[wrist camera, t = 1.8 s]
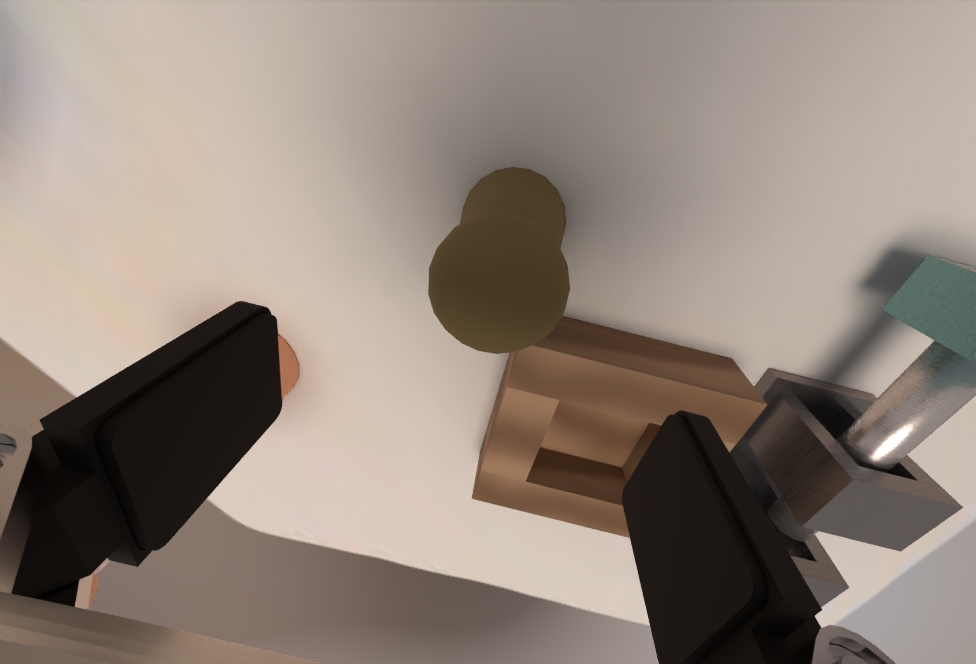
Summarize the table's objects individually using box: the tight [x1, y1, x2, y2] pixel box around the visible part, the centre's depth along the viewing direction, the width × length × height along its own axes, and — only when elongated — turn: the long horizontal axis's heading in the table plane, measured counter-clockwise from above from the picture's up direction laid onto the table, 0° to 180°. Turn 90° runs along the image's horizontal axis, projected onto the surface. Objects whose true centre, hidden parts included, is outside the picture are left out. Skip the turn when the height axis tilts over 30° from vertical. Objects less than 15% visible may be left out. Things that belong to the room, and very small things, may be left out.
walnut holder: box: [472, 316, 768, 538], centre depth 26 cm, size 14×14×4 cm
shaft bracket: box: [729, 368, 963, 607], centre depth 26 cm, size 16×7×8 cm, turn 167°
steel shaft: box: [768, 255, 976, 542], centre depth 20 cm, size 17×5×5 cm, turn 167°
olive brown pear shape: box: [428, 167, 570, 354], centre depth 17 cm, size 6×6×11 cm
